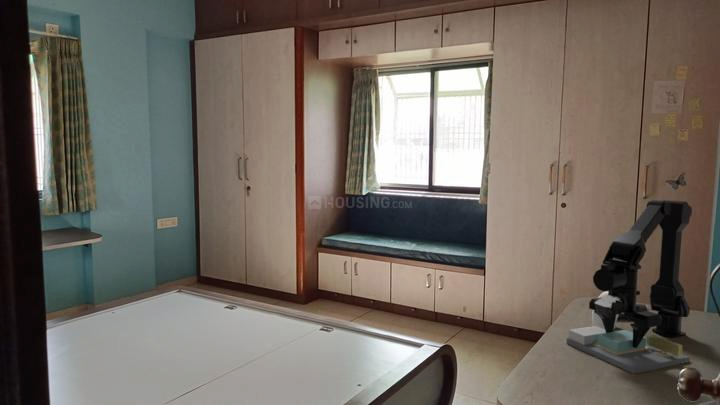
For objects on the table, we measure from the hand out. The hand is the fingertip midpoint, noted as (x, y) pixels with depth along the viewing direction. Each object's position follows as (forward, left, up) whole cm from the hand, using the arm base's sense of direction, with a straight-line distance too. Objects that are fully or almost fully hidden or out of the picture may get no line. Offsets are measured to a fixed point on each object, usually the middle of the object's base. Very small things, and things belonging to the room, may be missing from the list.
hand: (621, 342), depth 138 cm
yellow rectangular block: (-6, +7, -1) cm, 10 cm away
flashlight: (-19, -24, -5) cm, 31 cm away
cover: (0, 0, -1) cm, 1 cm away
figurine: (-12, -16, -3) cm, 20 cm away
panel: (-1, 0, -3) cm, 3 cm away
